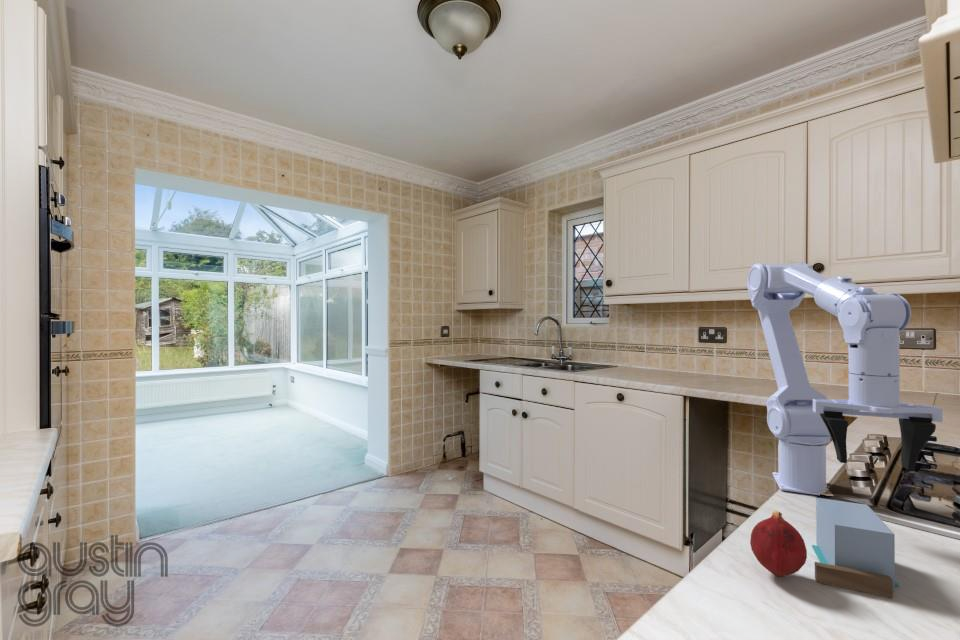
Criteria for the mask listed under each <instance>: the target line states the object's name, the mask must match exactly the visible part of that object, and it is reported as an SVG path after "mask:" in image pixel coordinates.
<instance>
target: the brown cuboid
mask: <svg viewBox="0 0 960 640" xmlns="http://www.w3.org/2000/svg"><path fill="white" fill-rule="evenodd" d="M814 579H815V581H816V583H819V584H824V585H828V586H834V587H837V588H838V587H839V588H843V589H848V590H853V591H858V592H863V593H867V594H872V595H876V596H882V597H886V598H891V599H892V598H894V597H893V595H894V594H893V591H894V590H893V580H892V579H891V578H890V576H887V575H882V574H877V573H872V572H867V571H861V570H856V569H851V568H846V567H840V566H835V565H830V564H825V563H820V561H819V562H818V561H814Z"/></svg>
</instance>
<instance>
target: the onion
mask: <svg viewBox="0 0 960 640" xmlns="http://www.w3.org/2000/svg"><path fill="white" fill-rule="evenodd" d="M782 515H783V514H782V512H780V511H779V510H777V509H776V510H774V511H772V513H771V516H770V517H768V518H765V519H763V520H761V521H759V522H758V523H757V524H755V525H754V527H753V529H752V531H751V533H750V541H749V544H750V548H751V551H752V553H753V555H754V557H755V558H756V560H757V561H758V563H760V565H761V566H762V567H763V568H764V569H766V570H767V571H768V572H770V573H771V574H772V575H773V576H775V577H777V578H783V577H785V576H790V575H794V574H796V573H798V572H799V571H800V570H801V569H802V567H803V566H804V565H805V564H806V561H807V558H808V555H807V554H808V553H807V552H808V551H807V546H806V544H805V543H806V542H805V541H804V539H803V537H802V535H801V534H800V533H799V531H798V530H797V529H796V527H794V526H793V525H792V524H791V523H790V522H788V521H787V520H785V518H783V516H782Z"/></svg>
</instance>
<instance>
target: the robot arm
mask: <svg viewBox="0 0 960 640" xmlns="http://www.w3.org/2000/svg"><path fill="white" fill-rule="evenodd" d="M747 275H748V276H747V280H746V288H747V290H748V296H749V298H750V299H749V300H750V303H751V307H753V308H754V309H756V310H757V312H758V316H759V319H760V324H761V328H762V332H763V336H764V340H765V343H766V347H767V351H768V355H769V359H770V363H771V367H772V370H773V375H774V378H775V382H776V386H777V390H776V391H775V392H774V393H773V394H771V396H769V397H768V398H767V399H766V402H765V404H766V411H767V413H766V422H767V427H768V429H769V430H770V432H771V433H772V435H774V437H775V438H777V439H778V445H777V452H778V453H777V462H778V463H777V468H778V470H777V471H778V472H776V471H773V472H772V474H771V475H772V476H773V478H774V479H775V482H776V484H777V485H778V488H779V489H780V490H781V488H782V487H783V486H784V485H785V484H786V483H787V485H786V486H784V487H783V488H782V490H781V491H785V492H790V493H791V492H792V493H800V494H806V495H807V494H808V495H815V496H820V494H822V493H823V492H824V490H825V489H826V487H828V485H827V444H831V441H832V444H833V448H834V450H835V454H836V460H838V462H839V463H841V464H847V463H848V452H847V434H848V426H849V421H847V420H846V419H845V418H846V417H845V416H844V415H848V416H849V415H851V416H861V417H862V416H864V417H865V416H866V417H875V418H876V417H877V418H878V417H879V418H892V419H898V424H899V430H900V438H901V454H900V459H901V460H900V462H901V466H902V467H903V468H904V469H905V470H907V471H915V468H916V464H917V461H918V458H919V455H920V453H921V451H922V450H923V447H924V446H925V444H926V443H927V441H928V440H929V439H930V438H931V436H932V435H933V434H934V433H935V431H936V429H937V428H936V427H937V426H936V423H935V422H938V423H943V408H942V407H939V406H937V405H925V404H913V403H902V402H901V392H900V391H901V390H900V385H901V384H900V381H901V380H900V379H901V378H900V377H901V376H900V375H901V374H900V371H901V369H900V364H901V363H900V332H902V331H903V330H905V329H906V328H907V327H908V325H909V323H910V321H911V317H912V309H911V306H910V303H909V302H908V300H907V299H906V298H904V296H901V295H900V294H899V293H898V292H890V293H885V294H879V293H877V292H875V291H873V290H874V289H873V288H872V287H870V286H861V285H860V284H857V283H855V282H852V281H853V278H852V277H850V276H848V275H845V276H844V275H843V276H842V275H839V276H837V277H832V278H827V277H826V276H824V275H823V274H821V273H819V272H817V271H815V269H814V268H813V265H812V264H808V263H806V262H803V261H800V262H797V263H795V262H793V263H791V262H790V263H789V262H788V263H760V262H759V263H755V264H753V265H752V266H751V268H750V269H749V271H748V274H747ZM806 294H808V295H810V296H813V298H814V299H813V300H814V303H815V304H816V305H817V306H818V308H821V309H822V310H824V311H826V312H828V313H830V314H831V315H832V316H835V317H836V318H837V319H838V323H839V325H840V327H841V329H842V331H843V332H842V333H843V340H844V342H845V343H846V344H847V348H848V358H847V359H848V360H847V361H848V399H829V398H828V396H826V395H825V394H823V393H822V392H820V391H819V390H817V389H815V388H813V387H812V386H811V384H810V381H809V377H808V375H807V374H808V373H807V370H806V367H805V364H804V361H803V357H802V353H801V350H800V347H799V343H798V339H797V336H796V333H795V329H794V326H793V322H792V319H791V316H790V312H791V310H793V309H795V308H798V307H799V306H800V304H801V302H802V301H803V299H804V297H805V296H806Z"/></svg>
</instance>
